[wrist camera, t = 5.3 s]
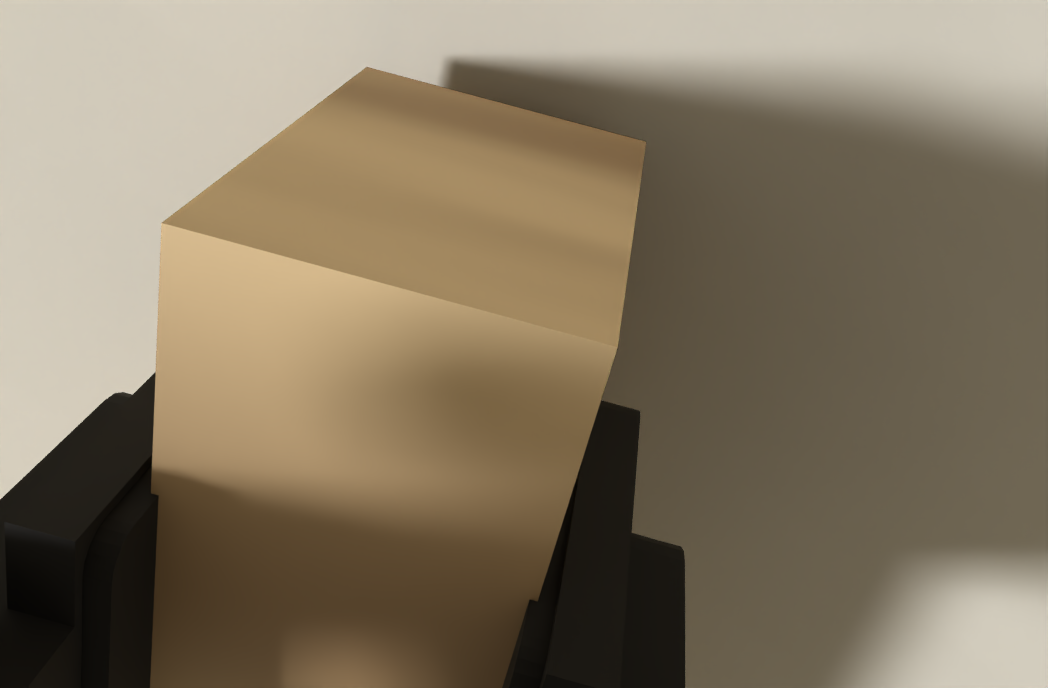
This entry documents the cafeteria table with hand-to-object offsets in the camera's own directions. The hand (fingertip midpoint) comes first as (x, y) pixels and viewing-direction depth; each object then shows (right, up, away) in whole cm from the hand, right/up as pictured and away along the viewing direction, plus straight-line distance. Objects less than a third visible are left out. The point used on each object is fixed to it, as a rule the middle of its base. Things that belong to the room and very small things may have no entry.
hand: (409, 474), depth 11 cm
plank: (-1, -5, +4) cm, 6 cm away
